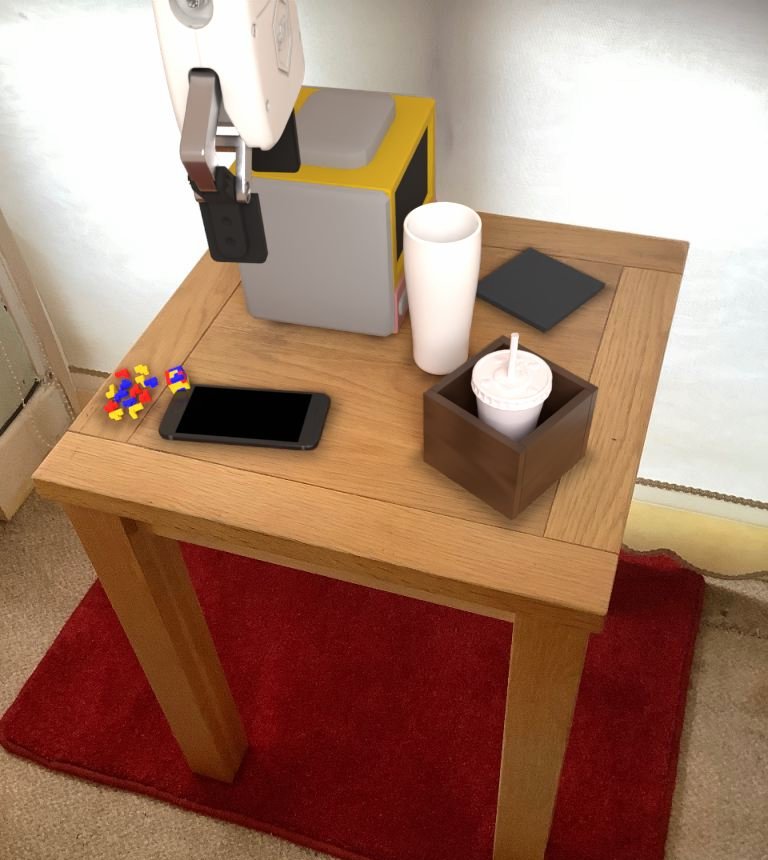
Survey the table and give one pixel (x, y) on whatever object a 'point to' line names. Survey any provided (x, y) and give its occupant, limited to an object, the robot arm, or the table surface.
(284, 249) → the alarm clock
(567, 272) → the mat
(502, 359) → the smoothie
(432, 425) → the holder
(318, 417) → the smartphone
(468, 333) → the drinking glass
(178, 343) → the table surface
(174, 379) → the building blocks
